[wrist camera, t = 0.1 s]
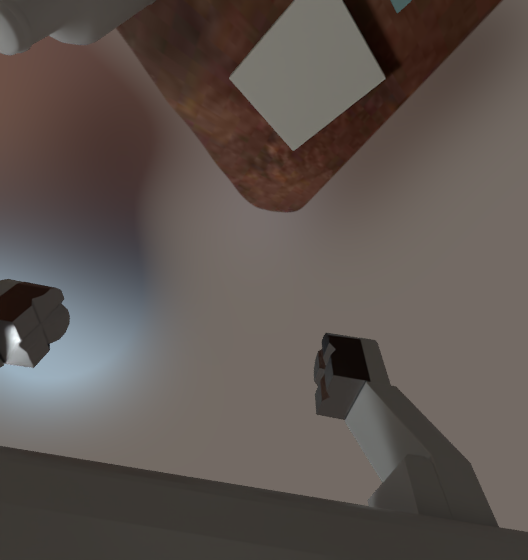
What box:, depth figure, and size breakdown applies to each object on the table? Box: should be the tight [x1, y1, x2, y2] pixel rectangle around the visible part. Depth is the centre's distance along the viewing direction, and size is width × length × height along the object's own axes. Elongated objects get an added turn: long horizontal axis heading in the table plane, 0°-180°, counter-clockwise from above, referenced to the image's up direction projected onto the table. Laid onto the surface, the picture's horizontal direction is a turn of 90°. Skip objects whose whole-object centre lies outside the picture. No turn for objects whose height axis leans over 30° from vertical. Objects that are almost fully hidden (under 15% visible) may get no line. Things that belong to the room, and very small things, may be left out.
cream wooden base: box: [229, 0, 386, 151], centre depth 47 cm, size 18×16×3 cm
